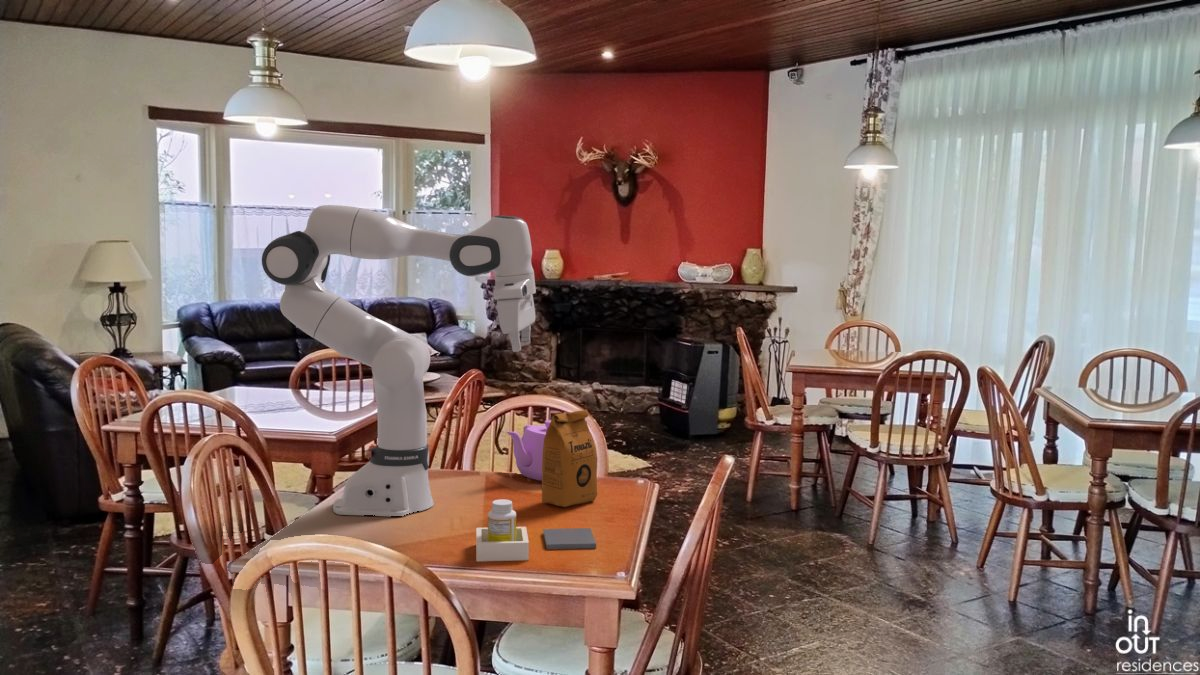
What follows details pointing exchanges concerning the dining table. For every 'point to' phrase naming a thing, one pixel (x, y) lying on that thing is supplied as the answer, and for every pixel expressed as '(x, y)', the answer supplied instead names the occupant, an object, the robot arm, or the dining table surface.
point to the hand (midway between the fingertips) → (521, 347)
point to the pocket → (502, 547)
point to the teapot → (530, 450)
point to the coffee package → (569, 461)
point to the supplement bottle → (501, 522)
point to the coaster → (569, 538)
